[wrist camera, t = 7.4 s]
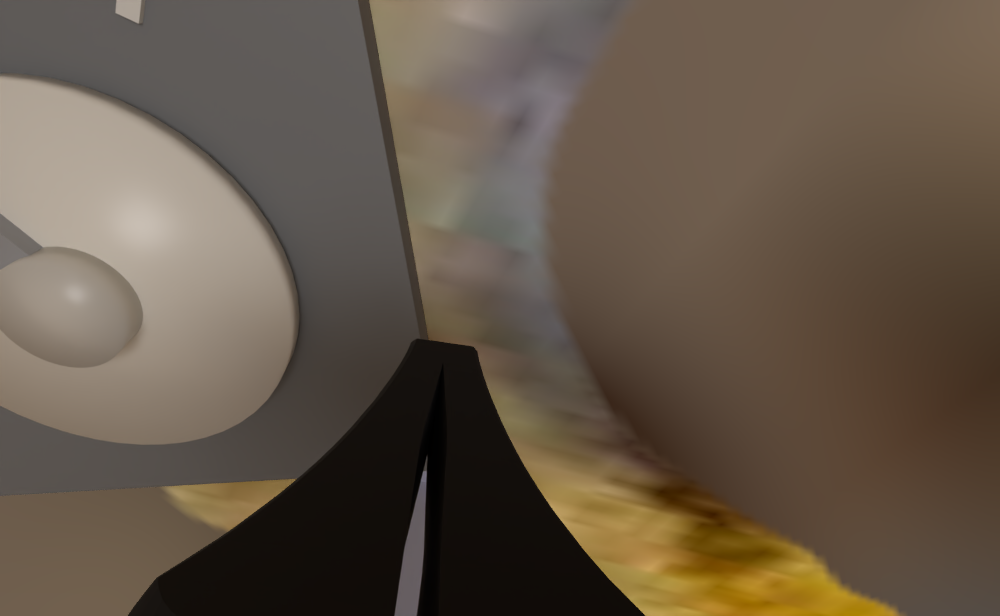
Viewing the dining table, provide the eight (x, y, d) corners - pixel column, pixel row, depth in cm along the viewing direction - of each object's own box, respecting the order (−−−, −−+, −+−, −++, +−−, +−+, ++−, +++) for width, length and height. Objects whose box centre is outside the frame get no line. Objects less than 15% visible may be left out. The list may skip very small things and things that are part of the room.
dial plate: (447, 445, 26) (444, 473, 25) (11, 471, 27) (-17, 500, 25) (345, -130, 14) (329, -142, 13) (-431, -61, 15) (-531, -64, 13)
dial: (378, 327, 20) (349, 415, 16) (142, 471, 24) (73, 569, 20) (-112, -179, 12) (-400, -250, 8) (-338, 158, 16) (-605, 217, 12)
